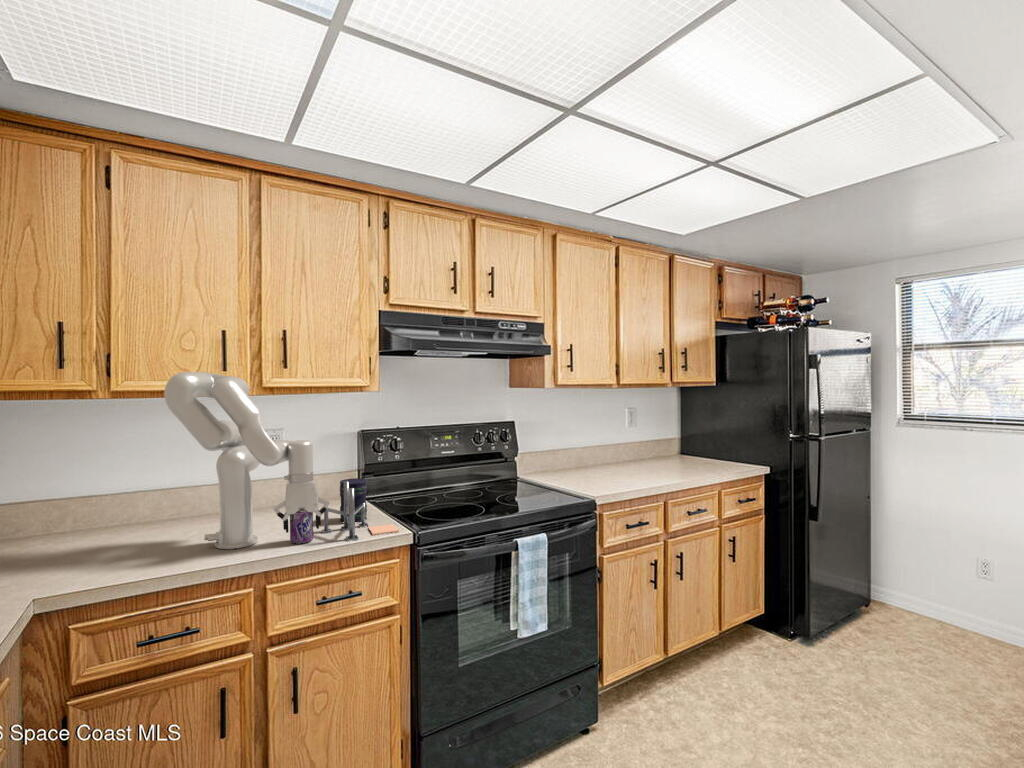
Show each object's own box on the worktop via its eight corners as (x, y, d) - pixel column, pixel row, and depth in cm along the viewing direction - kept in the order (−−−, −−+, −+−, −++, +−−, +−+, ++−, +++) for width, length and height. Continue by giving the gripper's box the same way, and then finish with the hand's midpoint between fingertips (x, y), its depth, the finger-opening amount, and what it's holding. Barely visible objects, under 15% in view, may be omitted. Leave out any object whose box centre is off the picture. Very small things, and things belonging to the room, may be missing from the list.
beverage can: (290, 546, 172) (289, 509, 171) (290, 540, 178) (289, 504, 178) (313, 543, 174) (313, 506, 174) (312, 537, 181) (312, 502, 181)
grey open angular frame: (325, 544, 174) (325, 492, 173) (321, 530, 189) (320, 482, 189) (375, 537, 180) (375, 487, 180) (367, 524, 196) (366, 478, 196)
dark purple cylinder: (351, 524, 196) (351, 484, 196) (334, 521, 201) (334, 481, 201) (372, 518, 204) (372, 480, 204) (355, 515, 210) (355, 477, 209)
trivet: (372, 535, 183) (372, 533, 183) (368, 528, 191) (368, 527, 191) (398, 532, 186) (398, 530, 186) (393, 525, 194) (393, 523, 194)
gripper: (272, 482, 169) (273, 536, 169) (329, 477, 176) (331, 529, 176) (272, 478, 176) (273, 530, 176) (327, 473, 183) (328, 523, 183)
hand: (302, 529), depth 176 cm, fingers open, 9 cm apart
